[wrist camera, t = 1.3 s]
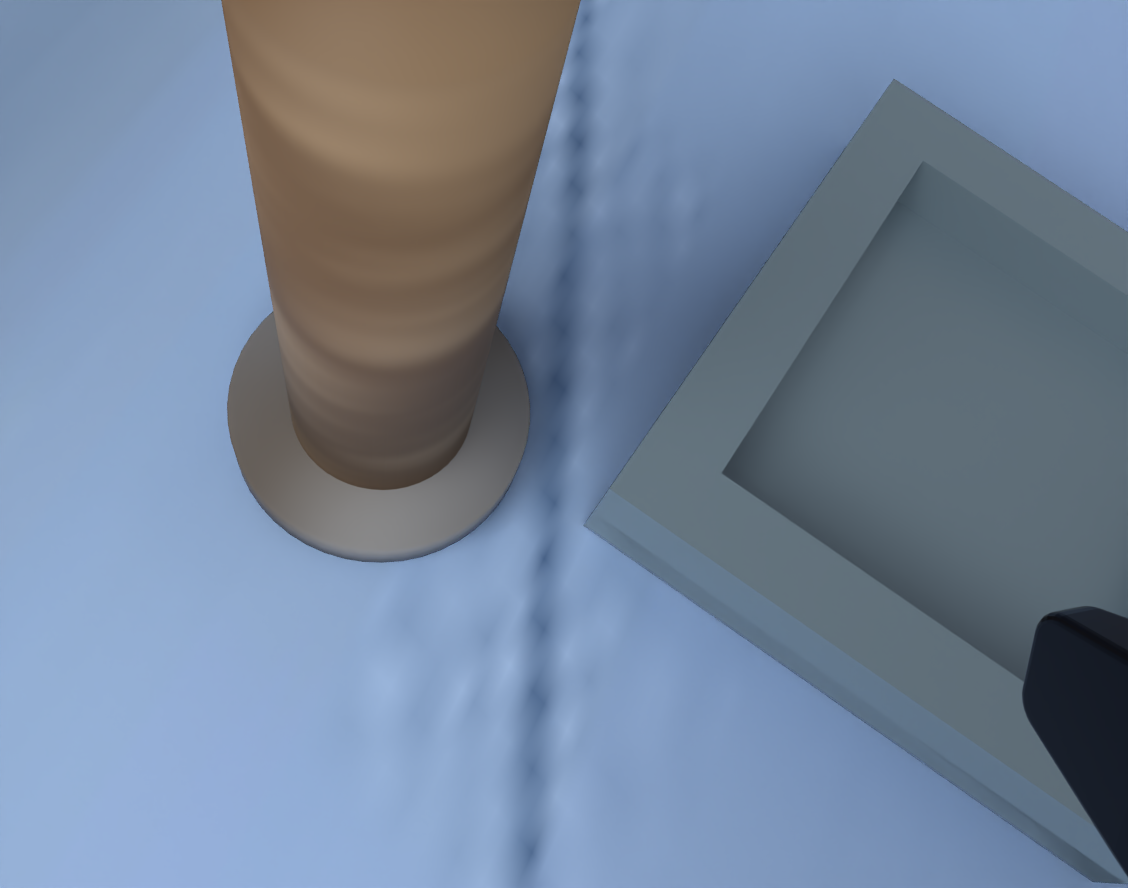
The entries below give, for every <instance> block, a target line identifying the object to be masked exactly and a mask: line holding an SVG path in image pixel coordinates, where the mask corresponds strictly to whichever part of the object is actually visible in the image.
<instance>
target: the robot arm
mask: <svg viewBox="0 0 1128 888" xmlns="http://www.w3.org/2000/svg"><path fill="white" fill-rule="evenodd" d="M1022 702H1023V707H1024V711H1025V713H1026V716H1027V718H1028V720H1029V722H1030V724H1031V726H1032V727H1033V729H1034V731H1035V732H1036V734H1037V735H1038V737H1039V739H1040V740H1041V742H1042V743H1043V745H1044V746H1045V748H1046V750H1047V751H1048V753H1049V754H1050V756H1051V758H1052V759H1053V761H1054V762H1055V764H1056V766H1057V767H1058V769H1059V770H1060V772H1061V774H1062V775H1063V777H1064V778H1065V780H1066V781H1067V783H1068V785H1069V786H1070V788H1071V789H1072V791H1073V793H1074V794H1075V796H1076V797H1077V799H1078V801H1079V802H1080V804H1081V805H1082V807H1083V808H1084V810H1085V812H1086V813H1087V815H1088V816H1089V818H1090V820H1091V821H1092V823H1093V824H1094V826H1095V828H1096V829H1097V831H1098V832H1099V834H1100V835H1101V837H1102V839H1103V840H1104V842H1105V843H1106V845H1107V847H1108V848H1109V850H1110V851H1111V853H1112V855H1113V856H1114V858H1115V859H1116V861H1117V862H1118V864H1119V865H1120V867H1121V868H1122V870H1123V871H1124V873H1125V874H1126V876H1127V877H1128V618H1126V617H1123V616H1121V615H1118V614H1115V613H1112V612H1109V611H1106V610H1104V609H1101V608H1098V607H1094V606H1080V607H1075V608H1070V609H1065V610H1060V611H1055V612H1051V613H1048V614H1047V615H1045V616H1043V617H1042V619H1041V620H1040V621H1039V623H1038V624H1037V627H1036V629H1035V633H1034V638H1033V642H1032V647H1031V651H1030V656H1029V660H1028V665H1027V669H1026V674H1025V678H1024V683H1023V688H1022Z"/></svg>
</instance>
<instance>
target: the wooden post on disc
mask: <svg viewBox="0 0 1128 888" xmlns="http://www.w3.org/2000/svg"><path fill="white" fill-rule="evenodd" d="M221 1H222V7H223V13H224V19H225V25H226V31H227V36H228V42H229V48H230V54H231V60H232V66H233V72H234V78H235V84H236V90H237V96H238V102H239V108H240V114H241V120H242V126H243V132H244V138H245V144H246V150H247V156H248V162H249V168H250V174H251V180H252V186H253V192H254V198H255V204H256V210H257V215H258V221H259V227H260V233H261V239H262V245H263V251H264V257H265V263H266V269H267V275H268V281H269V287H270V293H271V299H272V305H273V312H272V313H271V314H270V315H269V316H268V317H267V318H266V319H265V320H263V322H262V323H261V324H260V325H259V326H258V328H257V329H256V330H255V331H254V333H253V334H252V335H251V336H250V338H249V340H248V341H247V343H246V345H245V346H244V348H243V350H242V351H241V354H240V356H239V358H238V361H237V363H236V365H235V368H234V371H233V375H232V378H231V382H230V386H229V394H228V403H227V410H228V426H229V432H230V438H231V442H232V445H233V448H234V451H235V454H236V458H237V461H238V464H239V467H240V470H241V472H242V475H243V478H244V480H245V482H246V484H247V486H248V488H249V490H250V491H251V493H252V495H253V496H254V497H255V499H256V500H257V502H258V503H259V505H260V506H261V508H262V509H263V510H264V511H265V512H266V513H267V514H268V515H269V516H270V517H271V518H272V519H273V521H274V522H275V523H277V524H278V525H279V526H280V527H282V528H283V529H284V530H285V531H286V532H288V533H289V534H290V535H292V536H293V537H295V538H297V539H298V540H300V541H302V542H303V543H305V544H306V545H309V546H311V547H313V548H315V549H318V550H320V551H322V552H324V553H327V554H331V555H334V556H337V557H341V558H344V559H350V560H356V561H362V562H394V561H404V560H409V559H413V558H418V557H422V556H425V555H428V554H431V553H434V552H437V551H439V550H442V549H444V548H446V547H448V546H450V545H452V544H453V543H455V542H457V541H459V540H460V539H462V538H463V537H465V536H466V535H468V534H469V533H471V532H472V531H473V530H475V529H476V528H477V527H478V526H479V525H480V524H481V523H482V522H483V521H485V520H486V519H487V518H488V516H489V515H490V514H491V513H492V512H493V511H494V509H495V508H496V507H497V506H498V505H499V503H500V502H501V500H502V498H503V497H504V495H505V494H506V492H507V491H508V489H509V487H510V484H511V482H512V480H513V478H514V476H515V473H516V471H517V469H518V466H519V464H520V461H521V459H522V456H523V453H524V449H525V446H526V443H527V438H528V431H529V425H530V403H529V395H528V388H527V384H526V380H525V377H524V373H523V370H522V368H521V365H520V363H519V361H518V358H517V356H516V354H515V352H514V351H513V349H512V347H511V346H510V344H509V342H508V340H507V339H506V338H505V336H504V335H503V334H502V333H501V331H500V330H499V329H498V327H497V326H496V324H497V320H498V316H499V312H500V308H501V304H502V301H503V297H504V293H505V289H506V285H507V281H508V278H509V274H510V270H511V266H512V262H513V258H514V254H515V251H516V247H517V243H518V239H519V235H520V231H521V228H522V224H523V220H524V216H525V212H526V208H527V204H528V201H529V197H530V193H531V189H532V185H533V181H534V178H535V174H536V170H537V166H538V162H539V158H540V154H541V151H542V147H543V143H544V139H545V135H546V131H547V128H548V124H549V120H550V116H551V112H552V108H553V104H554V101H555V97H556V93H557V89H558V85H559V81H560V77H561V74H562V70H563V66H564V62H565V58H566V54H567V51H568V47H569V43H570V39H571V35H572V31H573V27H574V24H575V20H576V16H577V12H578V8H579V4H580V1H581V0H221Z"/></svg>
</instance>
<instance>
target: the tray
mask: <svg viewBox="0 0 1128 888" xmlns="http://www.w3.org/2000/svg"><path fill="white" fill-rule="evenodd" d="M584 526H585V527H587V528H588V529H589V530H591V531H592V532H594V533H595V534H597V535H598V536H599V537H601V538H602V539H604V540H605V541H607V542H608V543H609V544H611V545H612V546H614V547H615V548H617V549H618V550H619V551H621V552H622V553H624V554H625V555H627V556H628V557H629V558H631V559H632V560H634V561H635V562H637V563H638V564H639V565H641V566H642V567H644V568H645V569H647V570H648V571H649V572H651V573H652V574H654V575H655V576H657V577H658V578H659V579H661V580H662V581H664V582H665V583H667V584H668V585H669V586H671V587H672V588H674V589H675V590H677V591H678V592H679V593H681V594H682V595H684V596H685V597H687V598H688V599H689V600H691V601H692V602H694V603H695V604H697V605H698V606H699V607H701V608H702V609H704V610H705V611H707V612H708V613H709V614H711V615H712V616H714V617H715V618H717V619H718V620H719V621H721V622H722V623H724V624H725V625H727V626H728V627H729V628H731V629H732V630H734V631H735V632H737V633H738V634H739V635H741V636H742V637H744V638H745V639H747V640H748V641H749V642H751V643H752V644H754V645H755V646H757V647H758V648H759V649H761V650H762V651H764V652H765V653H767V654H768V655H769V656H771V657H772V658H774V659H775V660H777V661H778V662H779V663H781V664H782V665H784V666H785V667H787V668H788V669H789V670H791V671H792V672H794V673H795V674H797V675H798V676H799V677H801V678H802V679H804V680H805V681H807V682H808V683H809V684H811V685H812V686H814V687H815V688H817V689H818V690H819V691H821V692H822V693H824V694H825V695H827V696H828V697H829V698H831V699H832V700H834V701H835V702H837V703H838V704H839V705H841V706H842V707H844V708H845V709H847V710H848V711H849V712H851V713H852V714H854V715H855V716H857V717H858V718H859V719H861V720H862V721H864V722H865V723H867V724H868V725H869V726H871V727H872V728H874V729H875V730H877V731H878V732H879V733H881V734H882V735H884V736H885V737H887V738H888V739H889V740H891V741H892V742H894V743H895V744H897V745H898V746H899V747H901V748H902V749H904V750H905V751H907V752H908V753H909V754H911V755H912V756H914V757H915V758H917V759H918V760H919V761H921V762H922V763H924V764H925V765H927V766H928V767H929V768H931V769H932V770H934V771H935V772H937V773H938V774H939V775H941V776H942V777H944V778H945V779H947V780H948V781H949V782H951V783H952V784H954V785H955V786H957V787H958V788H959V789H961V790H962V791H964V792H965V793H967V794H968V795H969V796H971V797H972V798H974V799H975V800H977V801H978V802H979V803H981V804H982V805H984V806H985V807H987V808H988V809H989V810H991V811H992V812H994V813H995V814H997V815H998V816H999V817H1001V818H1002V819H1004V820H1005V821H1007V822H1008V823H1009V824H1011V825H1012V826H1014V827H1015V828H1017V829H1018V830H1019V831H1021V832H1022V833H1024V834H1025V835H1027V836H1028V837H1029V838H1031V839H1032V840H1034V841H1035V842H1037V843H1038V844H1039V845H1041V846H1042V847H1044V848H1045V849H1047V850H1048V851H1049V852H1051V853H1052V854H1054V855H1055V856H1057V857H1058V858H1059V859H1061V860H1062V861H1064V862H1065V863H1067V864H1068V865H1069V866H1071V867H1072V868H1074V869H1075V870H1077V871H1078V872H1079V873H1081V874H1082V875H1084V876H1085V877H1087V878H1088V879H1089V880H1091V881H1092V882H1101V883H1119V884H1128V877H1127V876H1126V874H1125V873H1124V871H1123V870H1122V868H1121V867H1120V865H1119V864H1118V862H1117V861H1116V859H1115V858H1114V856H1113V855H1112V853H1111V851H1110V850H1109V848H1108V847H1107V845H1106V843H1105V842H1104V840H1103V839H1102V837H1101V835H1100V834H1099V832H1098V831H1097V829H1096V828H1095V826H1094V824H1093V823H1092V821H1091V820H1090V818H1089V816H1088V815H1087V813H1086V812H1085V810H1084V808H1083V807H1082V805H1081V804H1080V802H1079V801H1078V799H1077V797H1076V796H1075V794H1074V793H1073V791H1072V789H1071V788H1070V786H1069V785H1068V783H1067V781H1066V780H1065V778H1064V777H1063V775H1062V774H1061V772H1060V770H1059V769H1058V767H1057V766H1056V764H1055V762H1054V761H1053V759H1052V758H1051V756H1050V754H1049V753H1048V751H1047V750H1046V748H1045V746H1044V745H1043V743H1042V742H1041V740H1040V739H1039V737H1038V735H1037V734H1036V732H1035V731H1034V729H1033V727H1032V726H1031V724H1030V722H1029V720H1028V718H1027V716H1026V713H1025V711H1024V707H1023V702H1022V688H1023V683H1024V678H1025V674H1026V669H1027V665H1028V660H1029V656H1030V651H1031V647H1032V642H1033V638H1034V633H1035V629H1036V627H1037V624H1038V623H1039V621H1040V620H1041V619H1042V617H1043V616H1045V615H1047V614H1048V613H1051V612H1055V611H1060V610H1065V609H1070V608H1075V607H1080V606H1094V607H1098V608H1101V609H1104V610H1106V611H1109V612H1112V613H1115V614H1118V615H1121V616H1123V617H1126V618H1128V232H1127V231H1125V230H1124V229H1122V228H1121V227H1119V226H1118V225H1116V224H1114V223H1113V222H1111V221H1110V220H1108V219H1107V218H1105V217H1104V216H1102V215H1101V214H1099V213H1098V212H1096V211H1095V210H1093V209H1092V208H1090V207H1089V206H1087V205H1086V204H1084V203H1082V202H1081V201H1079V200H1078V199H1076V198H1075V197H1073V196H1072V195H1070V194H1069V193H1067V192H1066V191H1064V190H1063V189H1061V188H1060V187H1058V186H1057V185H1055V184H1054V183H1052V182H1051V181H1049V180H1047V179H1046V178H1044V177H1043V176H1041V175H1040V174H1038V173H1037V172H1035V171H1034V170H1032V169H1031V168H1029V167H1028V166H1026V165H1025V164H1023V163H1022V162H1020V161H1019V160H1017V159H1016V158H1014V157H1012V156H1011V155H1009V154H1008V153H1006V152H1005V151H1003V150H1002V149H1000V148H999V147H997V146H996V145H994V144H993V143H991V142H990V141H988V140H987V139H985V138H984V137H982V136H981V135H979V134H977V133H976V132H974V131H973V130H971V129H970V128H968V127H967V126H965V125H964V124H962V123H961V122H959V121H958V120H956V119H955V118H953V117H952V116H950V115H949V114H947V113H946V112H944V111H942V110H941V109H939V108H938V107H936V106H935V105H933V104H932V103H930V102H929V101H927V100H926V99H924V98H923V97H921V96H920V95H918V94H917V93H915V92H914V91H912V90H911V89H909V88H907V87H906V86H904V85H903V84H901V83H900V82H898V81H897V80H895V79H893V81H892V82H891V84H890V85H889V87H888V88H887V89H886V91H885V92H884V94H883V95H882V97H881V98H880V100H879V101H878V102H877V104H876V105H875V107H874V108H873V110H872V111H871V112H870V114H869V115H868V117H867V118H866V120H865V121H864V122H863V124H862V125H861V127H860V128H859V130H858V131H857V132H856V134H855V135H854V137H853V138H852V140H851V141H850V142H849V144H848V145H847V147H846V148H845V150H844V151H843V153H842V154H841V155H840V157H839V158H838V160H837V161H836V163H835V164H834V165H833V167H832V168H831V170H830V171H829V173H828V174H827V176H826V177H825V178H824V180H823V181H822V183H821V184H820V186H819V187H818V189H817V190H816V191H815V193H814V194H813V196H812V197H811V199H810V200H809V201H808V203H807V204H806V206H805V207H804V209H803V210H802V212H801V213H800V214H799V216H798V217H797V219H796V220H795V222H794V223H793V225H792V226H791V227H790V229H789V230H788V232H787V233H786V235H785V236H784V237H783V239H782V240H781V242H780V243H779V245H778V246H777V248H776V249H775V250H774V252H773V253H772V255H771V256H770V258H769V259H768V261H767V262H766V263H765V265H764V266H763V268H762V269H761V271H760V272H759V273H758V275H757V276H756V278H755V279H754V281H753V282H752V284H751V285H750V286H749V288H748V289H747V291H746V292H745V294H744V295H743V297H742V298H741V299H740V301H739V302H738V304H737V305H736V307H735V308H734V309H733V311H732V312H731V314H730V315H729V317H728V318H727V320H726V321H725V322H724V324H723V325H722V327H721V328H720V330H719V331H718V333H717V334H716V335H715V337H714V338H713V340H712V341H711V343H710V344H709V346H708V347H707V348H706V350H705V351H704V353H703V354H702V356H701V357H700V358H699V360H698V361H697V363H696V364H695V366H694V367H693V369H692V370H691V371H690V373H689V374H688V376H687V377H686V379H685V380H684V382H683V383H682V384H681V386H680V387H679V389H678V390H677V392H676V393H675V394H674V396H673V397H672V399H671V400H670V402H669V403H668V405H667V406H666V407H665V409H664V410H663V412H662V413H661V415H660V416H659V418H658V419H657V420H656V422H655V423H654V425H653V426H652V428H651V429H650V430H649V432H648V433H647V435H646V436H645V438H644V439H643V441H642V442H641V443H640V445H639V446H638V448H637V449H636V451H635V452H634V454H633V455H632V456H631V458H630V459H629V461H628V462H627V464H626V465H625V466H624V468H623V469H622V471H621V472H620V474H619V475H618V477H617V478H616V479H615V481H614V482H613V484H612V485H611V487H610V488H609V490H608V491H607V492H606V494H605V495H604V497H603V498H602V500H601V501H600V502H599V504H598V505H597V507H596V508H595V510H594V511H593V513H592V514H591V515H590V517H589V518H588V520H587V521H586V523H585V524H584Z"/></svg>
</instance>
